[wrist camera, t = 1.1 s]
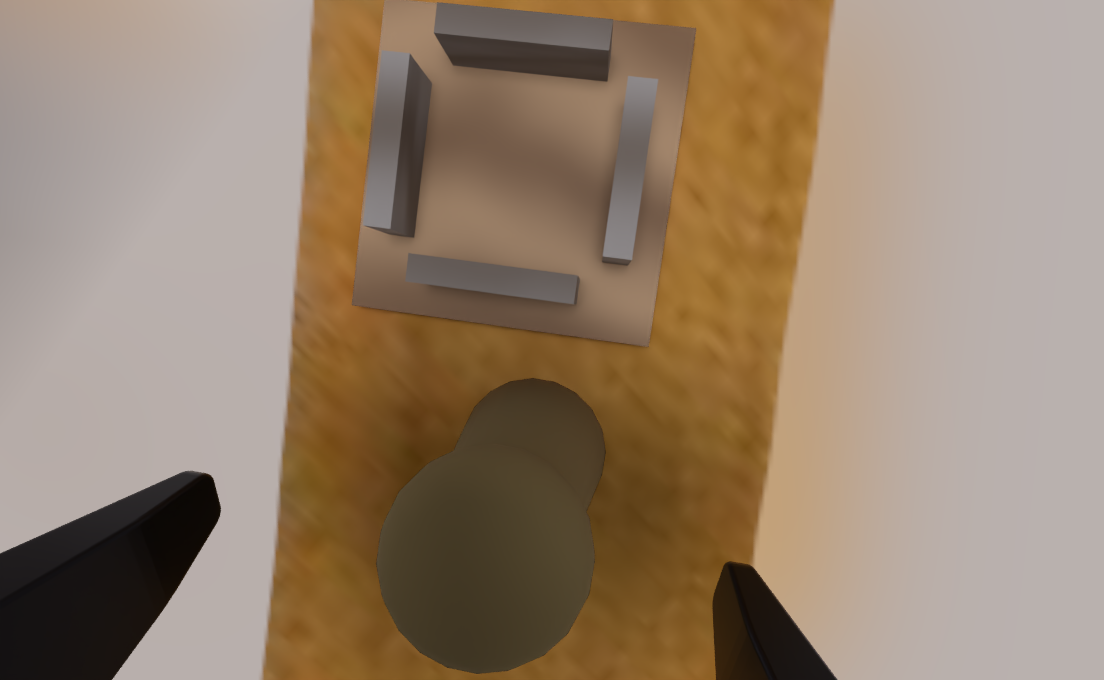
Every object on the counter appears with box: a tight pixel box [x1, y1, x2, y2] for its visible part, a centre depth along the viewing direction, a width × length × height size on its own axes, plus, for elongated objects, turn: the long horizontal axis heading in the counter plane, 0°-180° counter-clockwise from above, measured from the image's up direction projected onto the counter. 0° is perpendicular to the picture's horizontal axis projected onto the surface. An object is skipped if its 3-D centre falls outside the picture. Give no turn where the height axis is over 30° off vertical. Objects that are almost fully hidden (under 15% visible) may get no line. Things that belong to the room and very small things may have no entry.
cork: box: [376, 378, 606, 674], centre depth 17 cm, size 6×6×11 cm
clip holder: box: [352, 0, 696, 347], centre depth 20 cm, size 12×12×3 cm
